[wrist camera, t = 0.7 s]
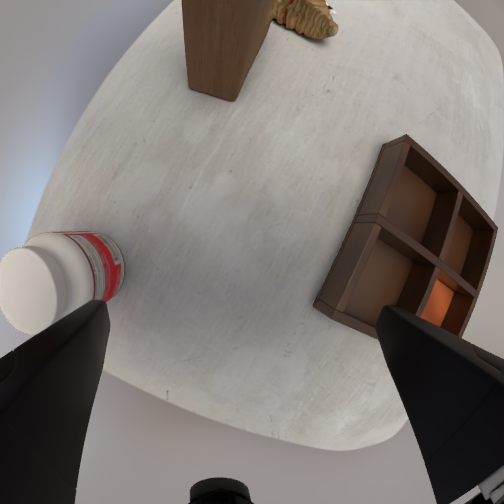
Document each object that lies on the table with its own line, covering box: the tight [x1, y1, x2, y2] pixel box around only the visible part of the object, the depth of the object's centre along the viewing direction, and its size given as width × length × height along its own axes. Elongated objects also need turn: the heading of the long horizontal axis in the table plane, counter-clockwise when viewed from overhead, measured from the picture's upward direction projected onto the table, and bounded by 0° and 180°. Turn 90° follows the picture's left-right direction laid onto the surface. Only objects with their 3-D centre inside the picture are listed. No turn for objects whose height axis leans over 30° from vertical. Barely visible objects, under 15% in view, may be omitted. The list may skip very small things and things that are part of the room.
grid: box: [313, 134, 498, 340], centre depth 25 cm, size 17×17×4 cm
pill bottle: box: [0, 231, 124, 335], centre depth 16 cm, size 6×6×11 cm
